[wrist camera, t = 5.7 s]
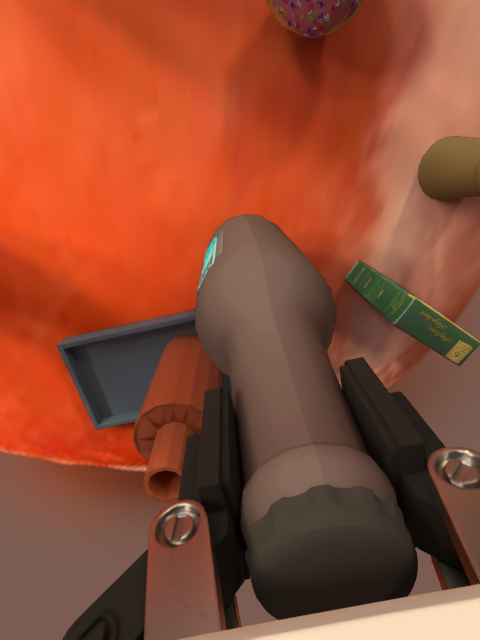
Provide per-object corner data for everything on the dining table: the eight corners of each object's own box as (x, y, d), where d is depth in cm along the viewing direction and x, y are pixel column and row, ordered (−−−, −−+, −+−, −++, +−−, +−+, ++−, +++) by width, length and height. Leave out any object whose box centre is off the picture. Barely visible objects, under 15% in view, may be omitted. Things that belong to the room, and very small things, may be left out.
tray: (100, 420, 48) (95, 430, 46) (63, 337, 43) (56, 345, 41) (313, 376, 46) (316, 385, 44) (298, 286, 42) (301, 292, 40)
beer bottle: (194, 230, 34) (51, 513, 6) (272, 200, 33) (531, 361, 5) (224, 302, 36) (221, 726, 9) (296, 276, 36) (549, 648, 8)
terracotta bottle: (172, 390, 46) (135, 527, 28) (154, 340, 43) (102, 456, 25) (228, 379, 45) (226, 510, 28) (213, 327, 43) (201, 436, 25)
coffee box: (412, 294, 42) (486, 344, 30) (395, 314, 43) (460, 370, 31) (359, 257, 40) (414, 294, 28) (342, 278, 41) (389, 323, 29)
